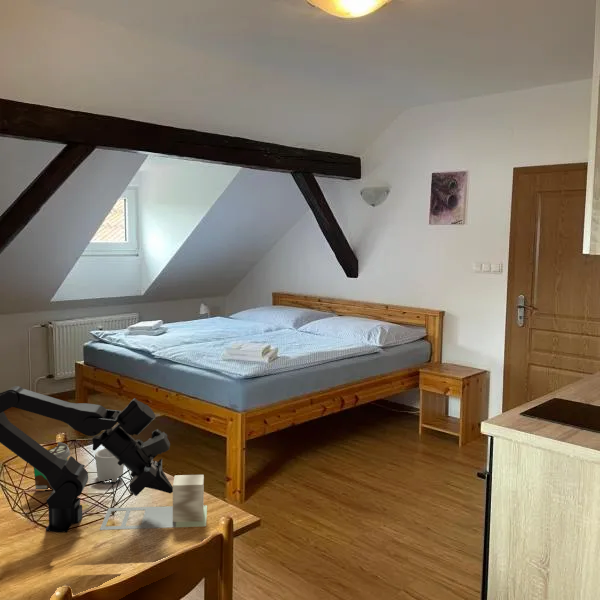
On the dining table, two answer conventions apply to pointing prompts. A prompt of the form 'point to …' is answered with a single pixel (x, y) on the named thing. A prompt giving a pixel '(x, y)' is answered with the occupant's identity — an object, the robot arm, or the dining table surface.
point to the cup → (107, 466)
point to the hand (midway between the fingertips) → (172, 491)
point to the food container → (59, 452)
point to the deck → (153, 518)
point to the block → (188, 498)
